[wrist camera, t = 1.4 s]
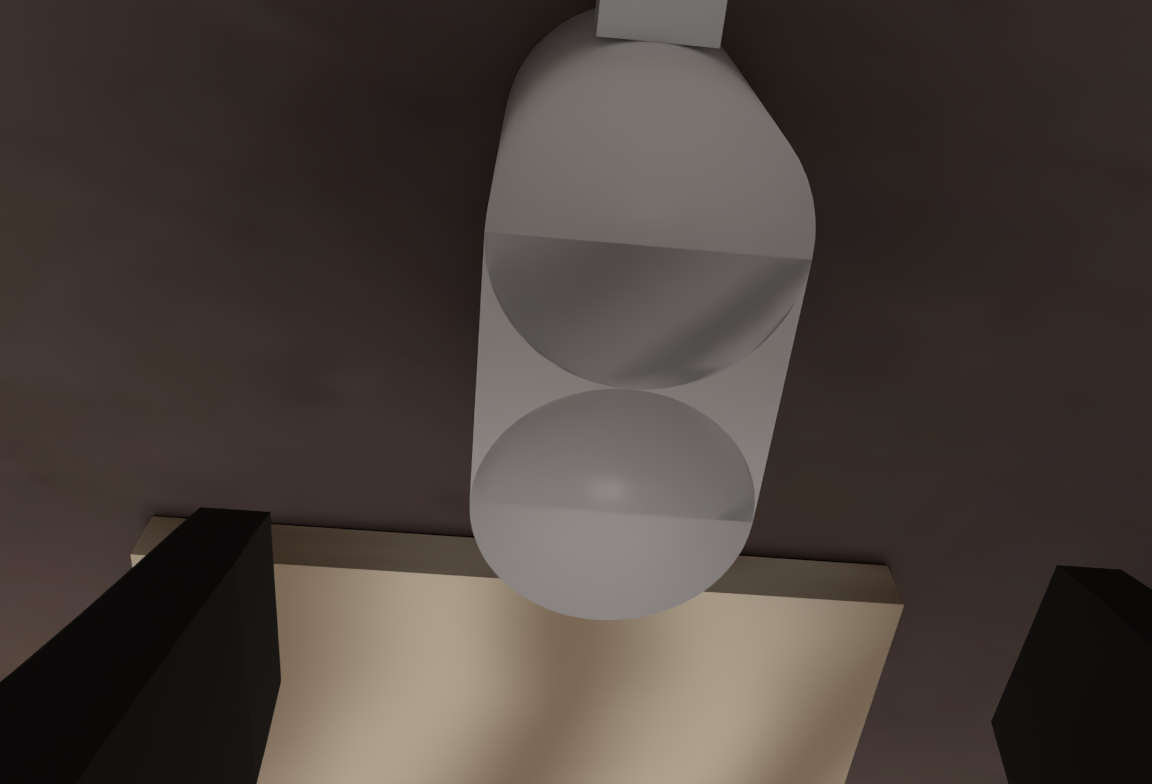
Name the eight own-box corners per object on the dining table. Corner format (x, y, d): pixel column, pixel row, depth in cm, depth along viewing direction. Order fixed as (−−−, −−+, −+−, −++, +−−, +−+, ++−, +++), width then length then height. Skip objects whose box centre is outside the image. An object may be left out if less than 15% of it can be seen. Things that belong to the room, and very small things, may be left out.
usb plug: (793, -113, 15) (888, -80, 11) (691, 448, 20) (728, 628, 15) (520, -142, 15) (503, -121, 10) (485, 432, 19) (464, 611, 15)
